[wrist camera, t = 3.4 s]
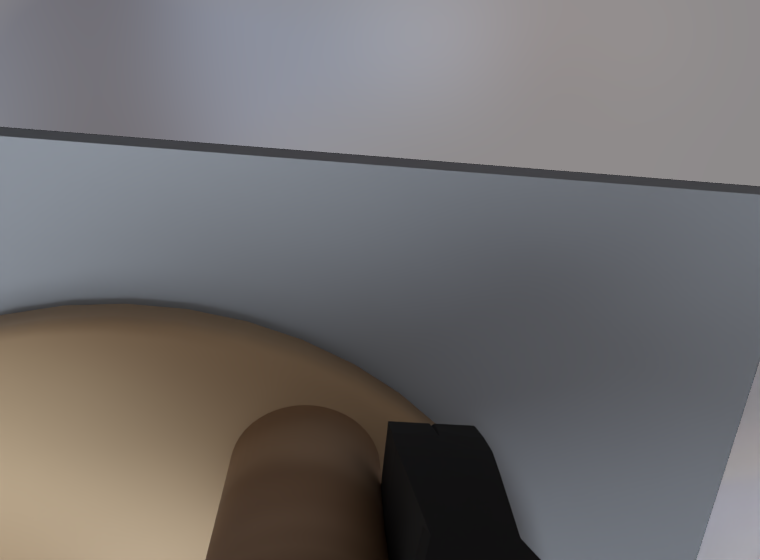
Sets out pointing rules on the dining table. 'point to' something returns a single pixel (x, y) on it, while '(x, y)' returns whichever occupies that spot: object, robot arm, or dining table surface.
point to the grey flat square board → (440, 301)
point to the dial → (185, 440)
